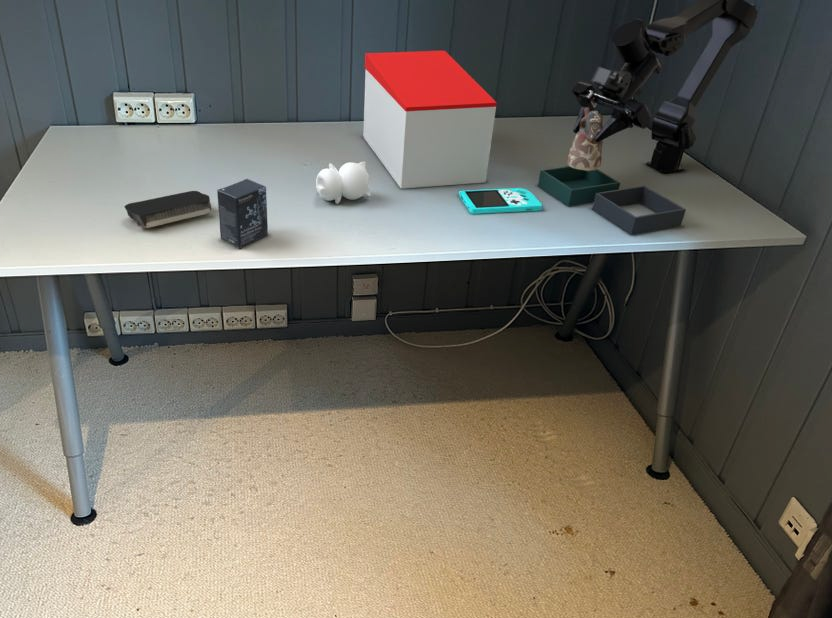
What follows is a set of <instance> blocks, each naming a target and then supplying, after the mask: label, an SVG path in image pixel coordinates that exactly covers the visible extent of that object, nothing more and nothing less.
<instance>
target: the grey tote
mask: <svg viewBox="0 0 832 618" xmlns="http://www.w3.org/2000/svg"><path fill="white" fill-rule="evenodd" d="M634 204H641V205H642V206H644V207H645V208H648V209H649V210H651V211H653V212H654V213H649V214H644V215H638V216H635V215H634V214H632V212H629V211H627V210H626V209H624V208H623V207H621V206H628V205H634ZM591 210H592V211H594V212H595V213H596V214H598V215H599V216H601V217H602V218H604V219H605V220H607V221H609V222H610V223H612V224H614V225H615V226H616V227H618V228H619V229H621V230H622V231H624V232H625V233H627V234H628V235H630V236H633V235H640V234H645V233H650V232H655V231H660V230H665V229H671V228H678V227H682V224H683V221H684V218H685V214H686V211H687V209H686V208H685V207H683V206H681V205H680V204H677V203H676V202H674V201H673V200H671V199H669V198H667V197H666V196H664V195H662V194H660V193H659V192H657V191H655V190H653V189H651V188H649V187H648V186H646V185H639V186H632V187H626V188H619V190H613V191H607V192H600V193H596V194H595V198H594V202H593V203H592V207H591Z"/></svg>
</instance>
